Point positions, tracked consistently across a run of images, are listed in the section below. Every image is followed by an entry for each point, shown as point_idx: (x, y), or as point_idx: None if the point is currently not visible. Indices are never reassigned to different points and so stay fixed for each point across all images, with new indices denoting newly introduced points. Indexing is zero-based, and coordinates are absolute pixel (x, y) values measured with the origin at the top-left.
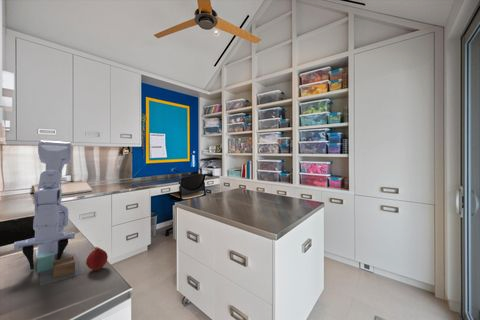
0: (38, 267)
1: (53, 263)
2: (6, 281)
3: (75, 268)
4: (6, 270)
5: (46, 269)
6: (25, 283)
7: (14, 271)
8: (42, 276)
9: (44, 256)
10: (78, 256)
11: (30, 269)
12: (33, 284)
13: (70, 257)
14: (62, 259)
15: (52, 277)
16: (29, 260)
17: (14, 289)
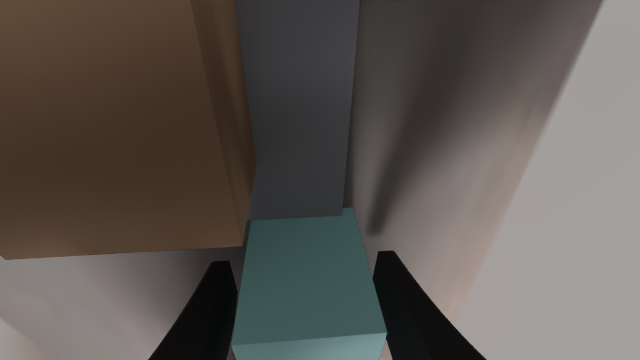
0: (355, 246)
1: (226, 166)
2: (498, 208)
3: None
4: (451, 315)
5: (299, 223)
6: (441, 96)
7: (432, 294)
8: (329, 123)
9: (326, 346)
10: (120, 312)
11: (395, 255)
12: (404, 16)
13: (24, 238)
14: (128, 231)
15: (247, 20)
16: (447, 327)
17: (531, 28)
